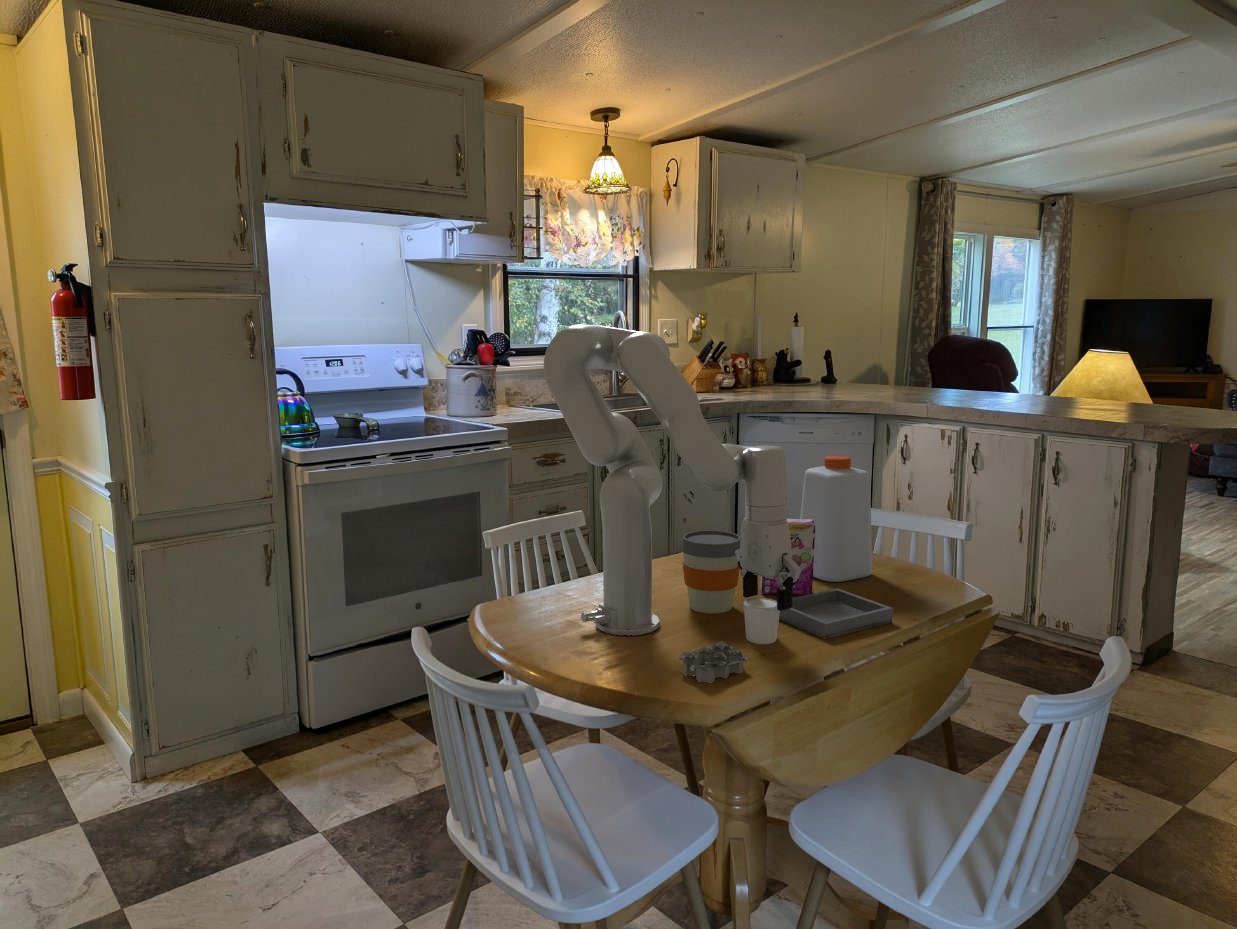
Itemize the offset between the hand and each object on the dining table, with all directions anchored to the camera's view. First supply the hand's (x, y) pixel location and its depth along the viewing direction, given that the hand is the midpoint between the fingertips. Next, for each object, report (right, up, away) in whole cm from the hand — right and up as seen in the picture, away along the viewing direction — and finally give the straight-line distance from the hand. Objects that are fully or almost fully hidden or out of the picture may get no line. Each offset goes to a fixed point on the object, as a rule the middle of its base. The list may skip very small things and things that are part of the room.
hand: (767, 602), depth 158 cm
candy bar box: (+9, -3, +29) cm, 31 cm away
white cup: (-1, -7, +1) cm, 7 cm away
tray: (+15, -5, +12) cm, 20 cm away
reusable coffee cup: (-8, -4, +20) cm, 22 cm away
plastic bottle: (+24, 0, +44) cm, 50 cm away
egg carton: (-12, -10, -14) cm, 21 cm away
